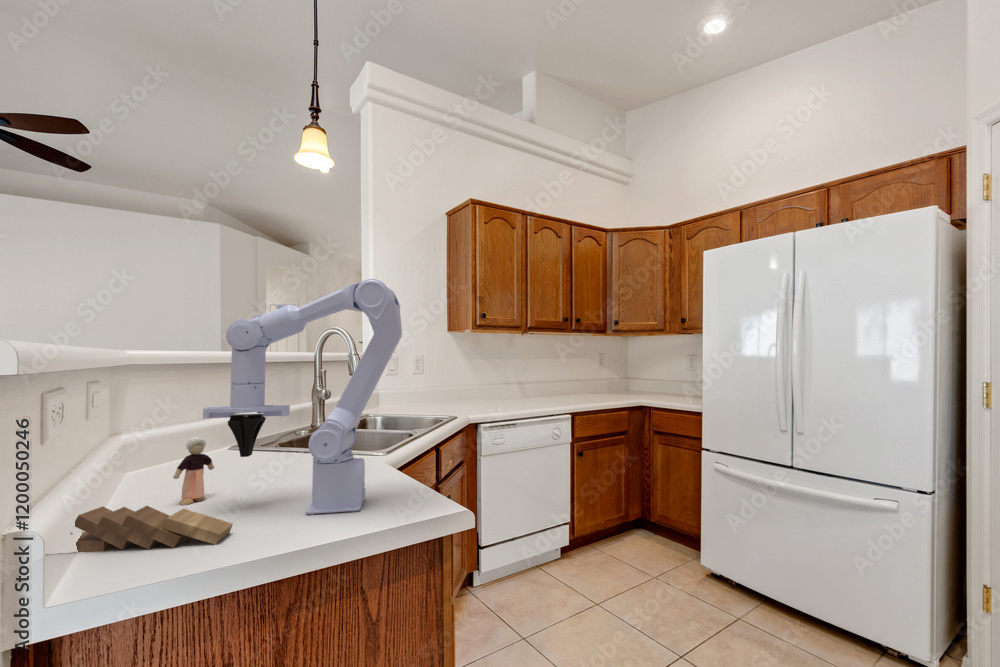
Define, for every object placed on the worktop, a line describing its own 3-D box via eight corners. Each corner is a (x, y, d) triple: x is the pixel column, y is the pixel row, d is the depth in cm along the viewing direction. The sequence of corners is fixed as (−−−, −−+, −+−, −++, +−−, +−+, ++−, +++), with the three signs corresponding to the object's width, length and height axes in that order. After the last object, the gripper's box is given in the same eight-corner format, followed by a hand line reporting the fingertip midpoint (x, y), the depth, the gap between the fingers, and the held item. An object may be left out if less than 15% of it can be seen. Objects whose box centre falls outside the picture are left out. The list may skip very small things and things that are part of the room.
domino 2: (125, 529, 70) (67, 532, 68) (104, 540, 65) (42, 544, 64) (124, 540, 69) (67, 543, 68) (103, 552, 65) (42, 555, 64)
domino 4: (195, 526, 70) (146, 505, 70) (179, 537, 66) (127, 515, 65) (189, 536, 70) (141, 515, 69) (173, 547, 66) (121, 525, 65)
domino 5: (233, 523, 72) (183, 508, 71) (219, 534, 67) (166, 518, 66) (229, 533, 71) (179, 518, 71) (215, 544, 67) (162, 528, 66)
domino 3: (172, 528, 70) (124, 506, 69) (154, 539, 66) (102, 516, 65) (166, 537, 70) (118, 516, 69) (148, 549, 65) (96, 526, 65)
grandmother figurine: (185, 507, 85) (188, 440, 85) (169, 506, 85) (171, 439, 86) (218, 495, 92) (220, 433, 93) (203, 494, 93) (205, 433, 94)
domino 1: (149, 528, 70) (102, 506, 70) (128, 539, 65) (78, 515, 65) (143, 538, 70) (97, 515, 69) (122, 549, 65) (72, 525, 65)
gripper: (294, 381, 90) (293, 449, 89) (215, 383, 87) (213, 453, 86) (284, 383, 83) (282, 457, 82) (198, 385, 80) (195, 461, 79)
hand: (246, 455), depth 84 cm, fingers closed
